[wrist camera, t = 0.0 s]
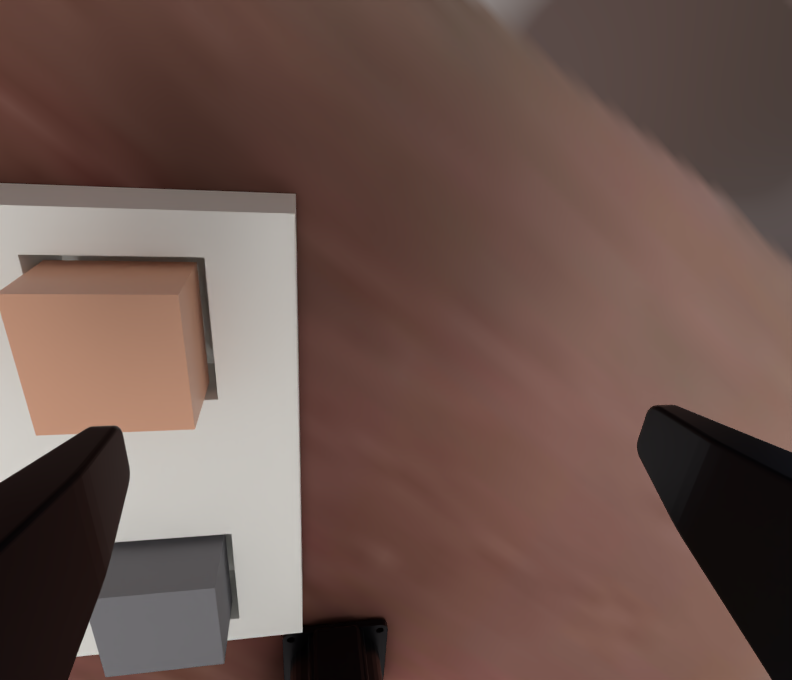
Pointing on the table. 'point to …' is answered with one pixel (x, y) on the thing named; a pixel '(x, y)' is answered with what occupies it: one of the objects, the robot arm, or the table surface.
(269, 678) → the table surface
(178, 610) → the key
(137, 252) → the white base plate
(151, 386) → the key
